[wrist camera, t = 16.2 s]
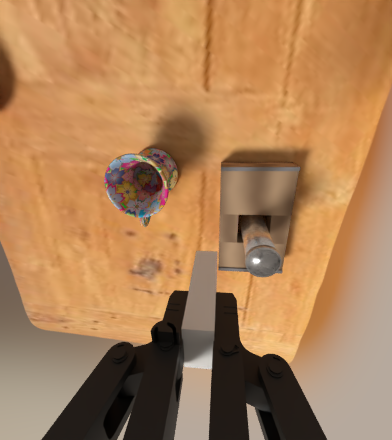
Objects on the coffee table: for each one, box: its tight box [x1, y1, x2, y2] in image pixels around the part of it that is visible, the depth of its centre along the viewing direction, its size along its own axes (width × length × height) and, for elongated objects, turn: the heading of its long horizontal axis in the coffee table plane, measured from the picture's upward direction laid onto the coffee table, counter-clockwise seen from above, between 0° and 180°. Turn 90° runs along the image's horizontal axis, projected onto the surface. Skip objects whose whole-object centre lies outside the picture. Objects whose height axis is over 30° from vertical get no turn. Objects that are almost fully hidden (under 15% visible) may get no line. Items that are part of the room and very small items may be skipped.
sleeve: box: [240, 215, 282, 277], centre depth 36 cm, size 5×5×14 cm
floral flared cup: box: [105, 148, 178, 227], centre depth 36 cm, size 12×9×11 cm
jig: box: [219, 162, 300, 273], centre depth 40 cm, size 12×20×4 cm, turn 1°
